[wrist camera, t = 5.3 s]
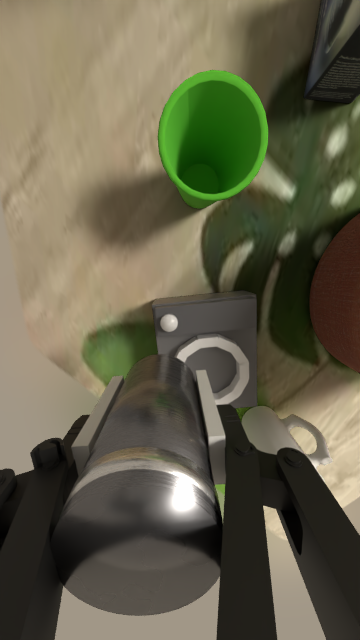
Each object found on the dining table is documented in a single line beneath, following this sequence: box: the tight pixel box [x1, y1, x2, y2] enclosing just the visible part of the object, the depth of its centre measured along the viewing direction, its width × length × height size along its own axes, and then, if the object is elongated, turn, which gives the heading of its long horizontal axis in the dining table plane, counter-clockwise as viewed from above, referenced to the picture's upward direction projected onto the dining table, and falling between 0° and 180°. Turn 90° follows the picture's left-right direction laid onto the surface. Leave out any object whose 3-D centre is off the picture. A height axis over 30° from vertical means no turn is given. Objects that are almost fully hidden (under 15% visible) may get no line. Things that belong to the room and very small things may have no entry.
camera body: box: [152, 290, 257, 408], centre depth 30 cm, size 16×13×7 cm
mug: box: [242, 406, 333, 482], centre depth 31 cm, size 10×7×12 cm, turn 128°
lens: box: [50, 354, 223, 616], centre depth 12 cm, size 6×6×10 cm
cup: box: [158, 70, 268, 209], centre depth 23 cm, size 9×9×11 cm
